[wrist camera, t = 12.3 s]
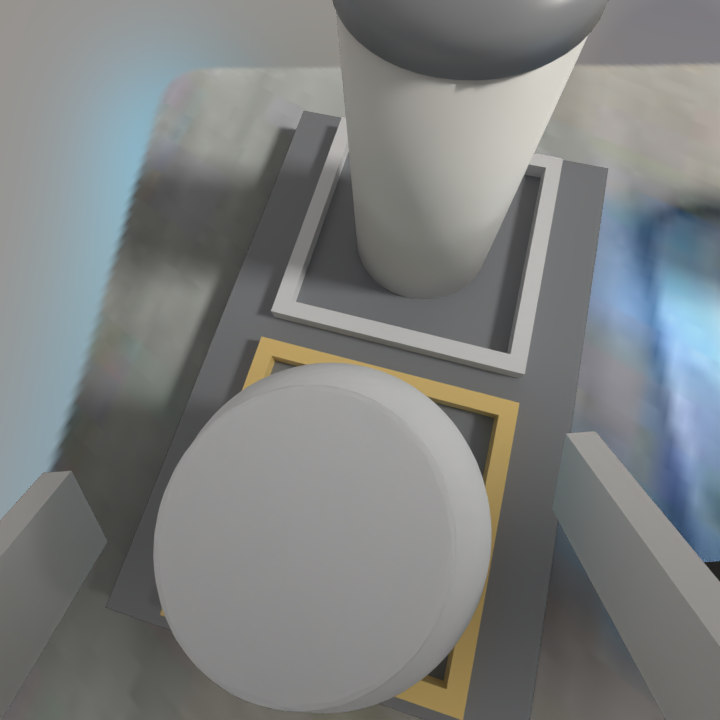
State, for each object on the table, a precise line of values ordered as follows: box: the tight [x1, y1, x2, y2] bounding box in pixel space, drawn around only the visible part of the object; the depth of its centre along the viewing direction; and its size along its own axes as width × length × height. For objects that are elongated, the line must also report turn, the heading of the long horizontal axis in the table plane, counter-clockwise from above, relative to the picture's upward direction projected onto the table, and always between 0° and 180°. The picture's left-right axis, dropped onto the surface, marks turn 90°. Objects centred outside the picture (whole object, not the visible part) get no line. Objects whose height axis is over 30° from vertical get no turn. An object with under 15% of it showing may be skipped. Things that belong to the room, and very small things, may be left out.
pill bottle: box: [153, 363, 492, 713], centre depth 13 cm, size 8×7×14 cm
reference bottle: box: [333, 0, 609, 299], centre depth 17 cm, size 7×7×14 cm
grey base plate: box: [106, 111, 608, 720], centre depth 22 cm, size 18×28×2 cm, turn 164°
